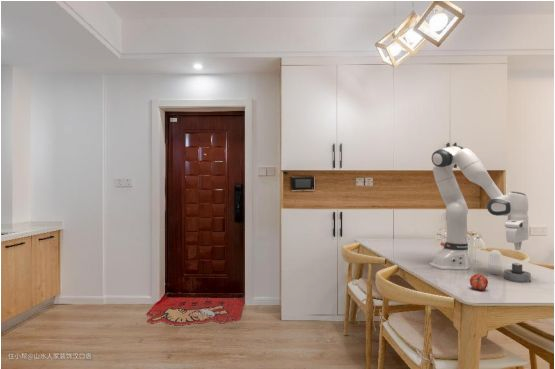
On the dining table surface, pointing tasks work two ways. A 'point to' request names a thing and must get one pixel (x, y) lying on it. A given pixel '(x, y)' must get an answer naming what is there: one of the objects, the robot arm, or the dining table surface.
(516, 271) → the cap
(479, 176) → the robot arm
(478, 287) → the pomegranate
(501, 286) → the dining table surface
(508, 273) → the grey round ashtray
